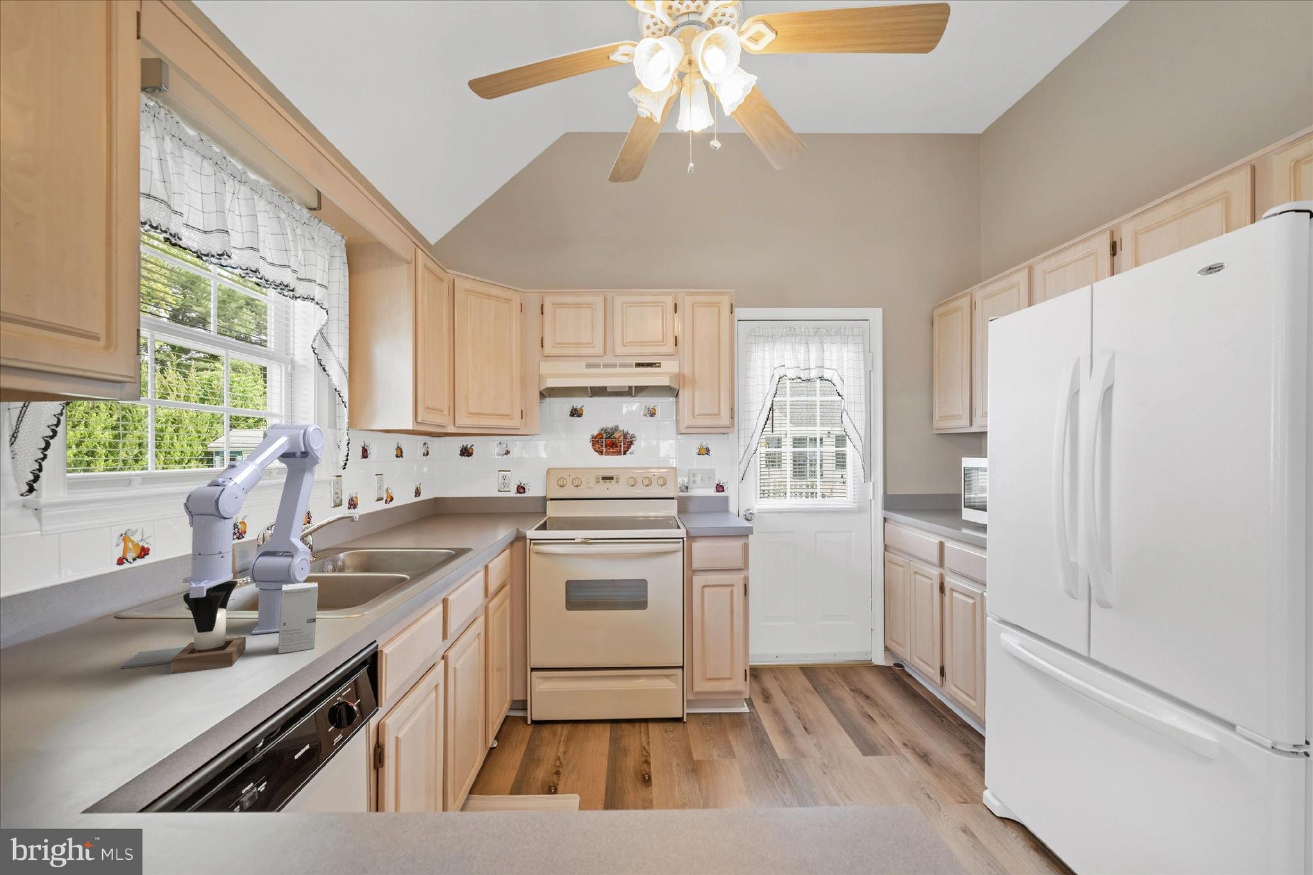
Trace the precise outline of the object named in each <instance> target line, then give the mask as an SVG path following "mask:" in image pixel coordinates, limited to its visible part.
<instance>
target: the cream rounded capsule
mask: <svg viewBox="0 0 1313 875" xmlns="http://www.w3.org/2000/svg"><path fill="white" fill-rule="evenodd" d="M226 628H227V608H226V609H223V608H219V609H218V613H217V618H216V623H215V627H214V629H213V631H212V632H203V633H198V632H197V629H196V626H195V625H194V634H193V642H194V649H196V650H205V649H212V648H216V647H219V646H222V645H224V644H225V639H226V636H227V635H226V633H227V632H226V631H227V629H226Z"/></svg>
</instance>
